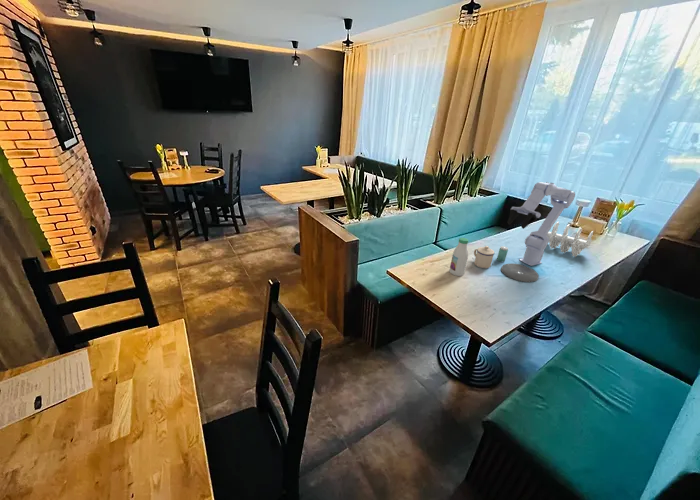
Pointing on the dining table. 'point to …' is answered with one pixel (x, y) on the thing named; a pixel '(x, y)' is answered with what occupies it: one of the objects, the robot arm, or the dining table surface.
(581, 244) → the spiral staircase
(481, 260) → the teacup with lid
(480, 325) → the dining table surface
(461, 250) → the milk bottle
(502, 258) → the pepper shaker
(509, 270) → the slate plate
